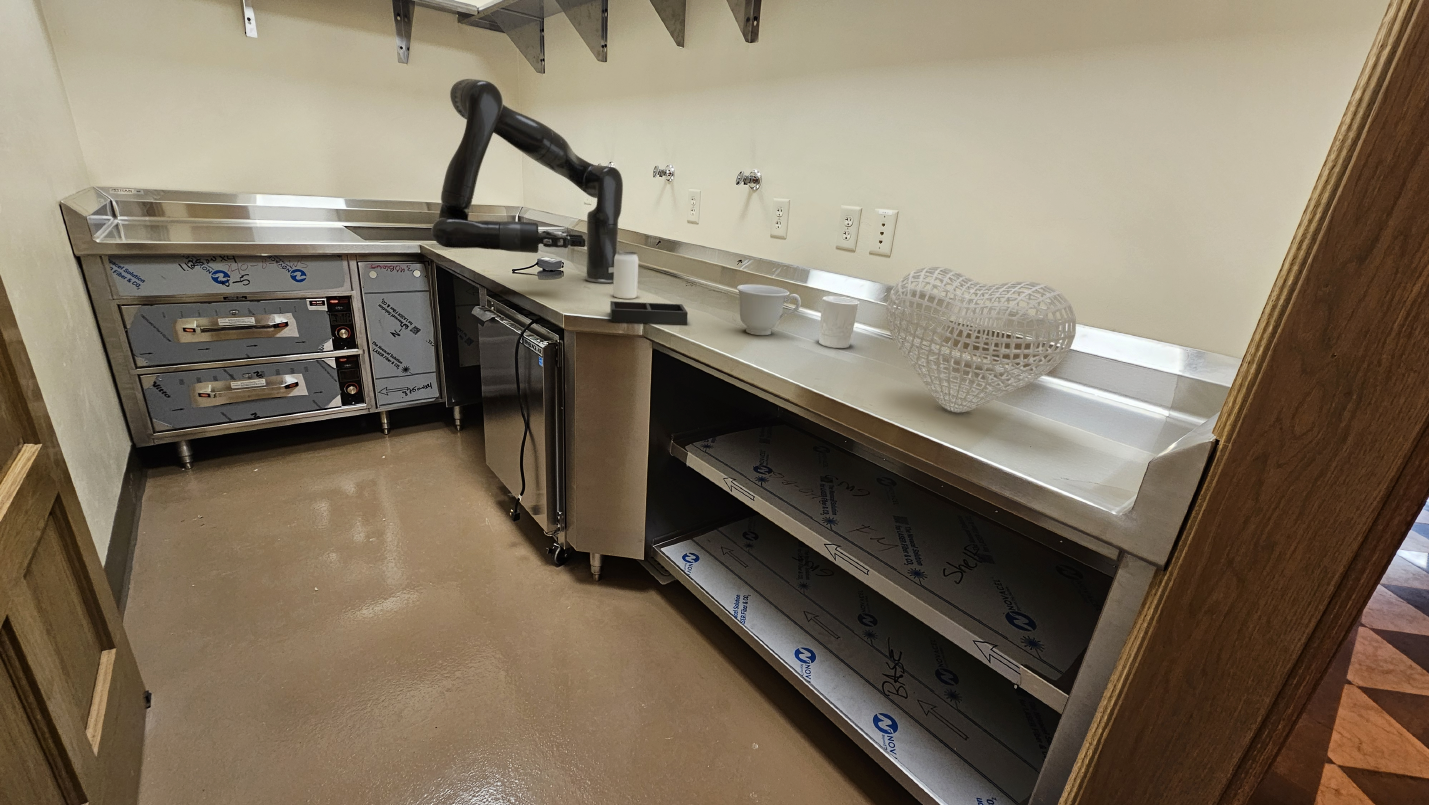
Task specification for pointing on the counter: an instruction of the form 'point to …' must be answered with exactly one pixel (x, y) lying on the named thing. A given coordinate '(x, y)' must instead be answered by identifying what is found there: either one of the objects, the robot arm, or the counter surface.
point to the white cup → (837, 321)
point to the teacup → (763, 307)
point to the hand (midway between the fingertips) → (584, 240)
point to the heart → (992, 289)
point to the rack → (648, 313)
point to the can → (625, 275)
